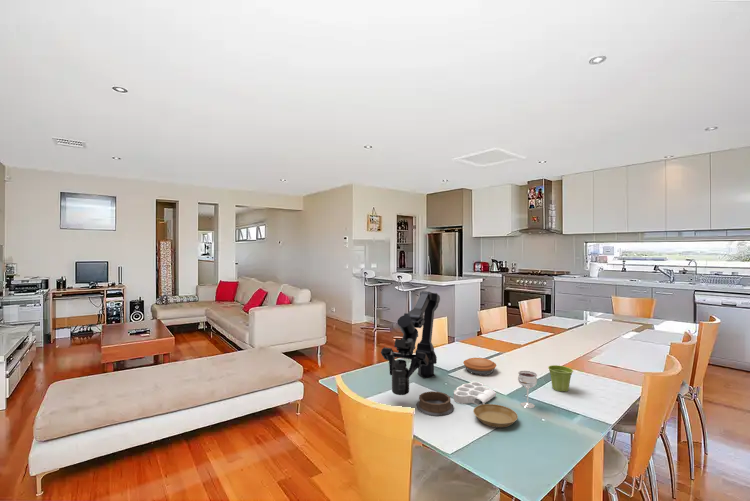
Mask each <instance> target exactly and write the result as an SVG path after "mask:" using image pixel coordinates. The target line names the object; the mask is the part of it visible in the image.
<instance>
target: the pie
mask: <svg viewBox="0 0 750 501" xmlns="http://www.w3.org/2000/svg"><path fill="white" fill-rule="evenodd" d="M462 363H463V365H464V367H465V368H466V369H467V371H468V372H469V371H470V372H469V373H471V372H472V373H471V374H473V373H475V374H474V375H478V374H481V376H487V375H490V374H492V373H493V371H494V369H495V368H496V367H497V363H496V362H494V361H492V360H491V359H488V358H484V357H483V358H482V357H470V358H467V359H465V360H464V361H463V362H462ZM486 374H487V375H486Z"/></svg>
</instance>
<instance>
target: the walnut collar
mask: <svg viewBox="0 0 750 501" xmlns="http://www.w3.org/2000/svg"><path fill="white" fill-rule="evenodd" d="M418 399H419V400H418V401H417V402H416V404H415V406H416V410H417V411H418V412H420V413H422V414H424V415H426V416H431V417H432V416H433V417H443V416H448V415H450V414H452V413H453V412H454V410H455V409H454V404H453V403H452V402H451V396H449V394H447V393H444V392H442V391H441V392H440V391H433V390H431V391H426V392H423V393H421V394H419V398H418Z"/></svg>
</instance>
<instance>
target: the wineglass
mask: <svg viewBox="0 0 750 501" xmlns="http://www.w3.org/2000/svg"><path fill="white" fill-rule="evenodd" d="M537 377H538V374H537V373H536V372H533V371H530V370H529V371H528V370H520V371H518V377H517V380H518V382H519V384H520V385H521V387H524V388H525V389H526V401H524V402H521V403H520V406H521V407H524V408H527V409H534V408H535V404H534V403H532V402H529V392H530V389H531V388H534V387H535V386H536V385H537V383H538V378H537Z"/></svg>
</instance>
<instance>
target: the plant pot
mask: <svg viewBox="0 0 750 501" xmlns="http://www.w3.org/2000/svg"><path fill="white" fill-rule="evenodd" d="M547 369H548V371H549V374H550V381H551V388H552V389H553V390H555V391H557V392H569V390H570V383H571V377H572V374H573V373H574V370H573V369H572V368H570V367H567V366H564V365H558V364H555V365H554V364H553V365H548V366H547Z"/></svg>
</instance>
